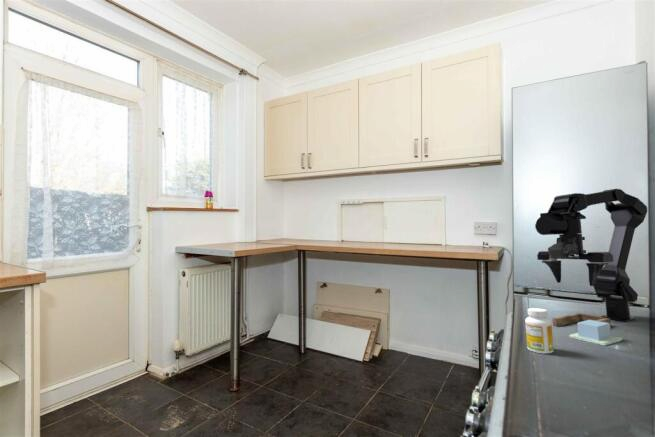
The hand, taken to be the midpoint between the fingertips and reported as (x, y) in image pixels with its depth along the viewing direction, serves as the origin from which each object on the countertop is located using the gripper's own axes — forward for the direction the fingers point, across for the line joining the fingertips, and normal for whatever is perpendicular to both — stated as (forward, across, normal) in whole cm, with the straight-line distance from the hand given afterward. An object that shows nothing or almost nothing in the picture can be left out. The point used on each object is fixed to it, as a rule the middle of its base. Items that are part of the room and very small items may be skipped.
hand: (574, 284), depth 100 cm
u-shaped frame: (+12, +2, -2) cm, 12 cm away
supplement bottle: (+12, +9, -32) cm, 35 cm away
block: (+11, +10, -12) cm, 20 cm away
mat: (+12, +10, -12) cm, 20 cm away
